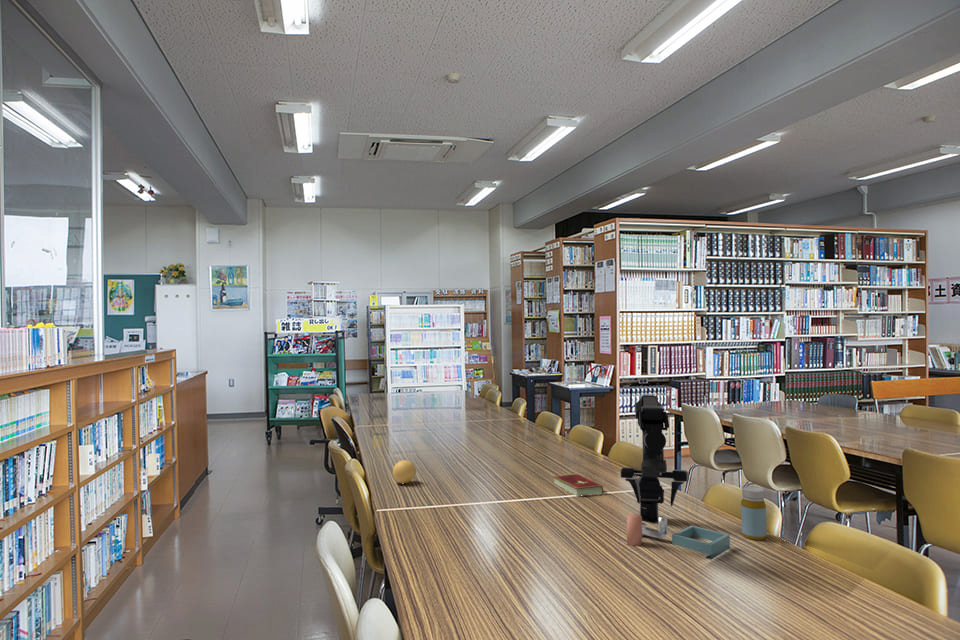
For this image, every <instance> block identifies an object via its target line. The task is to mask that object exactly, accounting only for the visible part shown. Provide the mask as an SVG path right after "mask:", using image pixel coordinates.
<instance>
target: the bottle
mask: <svg viewBox="0 0 960 640" xmlns="http://www.w3.org/2000/svg"><path fill="white" fill-rule="evenodd" d="M741 491H742V493H741V494H742V496H741V497H742V499H741V501H740V513H741V521H740V522H741V534H742V535H741V536H742V537H744V538H746V539H748V540H752V541H763V540H765V538H767V510H766V509H767V507H766V502H765V491H764V488H762V487H757V486H747V485H746V486H743V487H741Z"/></svg>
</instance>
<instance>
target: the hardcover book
mask: <svg viewBox="0 0 960 640" xmlns="http://www.w3.org/2000/svg"><path fill="white" fill-rule="evenodd" d="M552 478H554V479H553V480H554V481H553V482H554V483H555V484H557V485H558V486H560V487H562V488H564V489H565V490H564V489H563V490H564V491H566V490H567V491H569V492H571V493H573V494H574V495H573V494H572V495H573V496H575V495H576V496H575V497H577V496H580V497H582V496H581V495H588V496H590V495H589V494H597V495H600V494H599V493H603V494H604V486H603V485H602V484H599V483H598V482H595V481H593V480H591V479H589V478H587V477H585V476H583V475H581V474H579V473H573V474H564V475H563V474H562V475H561V474H560V475H553V476H552ZM554 483H553V484H554ZM558 486H557V487H558ZM560 487H559V488H560ZM562 488H561V489H562ZM567 491H566V492H567ZM569 492H568V493H569ZM571 493H570V494H571Z"/></svg>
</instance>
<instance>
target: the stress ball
mask: <svg viewBox="0 0 960 640" xmlns="http://www.w3.org/2000/svg"><path fill="white" fill-rule="evenodd" d="M416 472H417V469H416V467H415V465H414V463H413V462H412V461H410V460H405V459H403V460H399V461H398V462H397V463H395V465H394V466H393V468H392V476H393V478H394V480H395V481H396V482H398V483H400V484H401V483H407V484H408V483H410V482H411V481H412V480H413V479H414V477H415V475H416Z"/></svg>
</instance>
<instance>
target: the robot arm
mask: <svg viewBox="0 0 960 640" xmlns="http://www.w3.org/2000/svg"><path fill="white" fill-rule="evenodd" d="M634 406H635V408H634V409H635V415H634V416H635V419H636V420H637V424H638V427H639V429H640V430H641V433H642V435H641V436H642V437H641V439H642V440H641V441H642V442H641V443H642V462H641V464H640V468H641V469H640V470H639V469H638V468H637V467H632V466H625V467H622V468H621V469H620V478H621V479H622V478H625V479H624V480H625V481H626V482H629V484H630V485H631V488H632V489H633V493H634V495H635V498H636V503H637V504H640V505H639V506H640V507H639V511H640V513H639V515H640V516H642V522H647V523H651V524H654V523H658V516H659V504H660V505H661V504H663V503H665V490H664V488H663V485H661V481H660V479H659V478H663V479H672V481H671V482H670V483H671V488H670V489H671V490H670V506H671V507H673V505H674V502H675V499H676V496H677V493H678V491H679V488H680V486H681V485H683V484H685V482H688V481H690V475H689V471H687V470H686V469H685V470H684V469H673V470H672V471H667V470H668V464H667V460H666V459H665V454H664V453H665V449H664V448H665V447H666V444H667V439H666V437H665V434H664V433H663V431H668V429H669V428H670V421H669V420H670V419H669V415H668V414H667V411H665V410H664V408H663V407H662V403H661V402H660V401H658V396H657V395H654V394H651V395H650V394H643V395H640V399H639V400H638V401H637V402H635V405H634Z"/></svg>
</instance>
